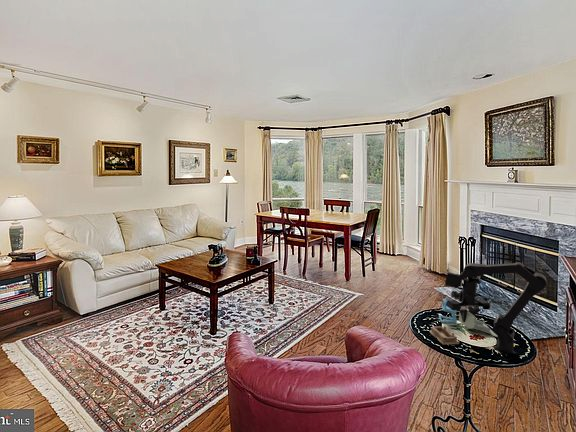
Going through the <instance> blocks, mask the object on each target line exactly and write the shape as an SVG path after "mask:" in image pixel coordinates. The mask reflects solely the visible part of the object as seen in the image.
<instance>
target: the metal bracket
mask: <svg viewBox="0 0 576 432" xmlns="http://www.w3.org/2000/svg"><path fill="white" fill-rule="evenodd" d="M463 328H464V329H465V330H466V331H468V330H469V328H468V327H466V326H465V325H463ZM473 329H475V330H478V331H481V332H483V333H487V334H490V335H491V336H493V337H496V338H497V337H498V335H497V334H496V333H495V331H494V330H492V329H491V328H490V327H489V326H488V325H487V324H486V323H484V321H482V320H479V319H476V318H475V322H474V328H473Z"/></svg>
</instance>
